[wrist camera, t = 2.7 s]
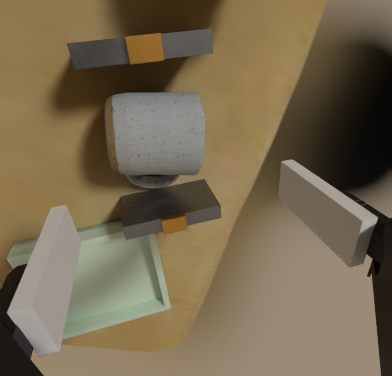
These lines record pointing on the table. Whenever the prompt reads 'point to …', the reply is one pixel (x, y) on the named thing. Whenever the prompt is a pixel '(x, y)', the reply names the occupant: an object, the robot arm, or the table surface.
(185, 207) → the grey cases
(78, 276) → the tray
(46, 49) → the table surface
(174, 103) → the ceramic mug
